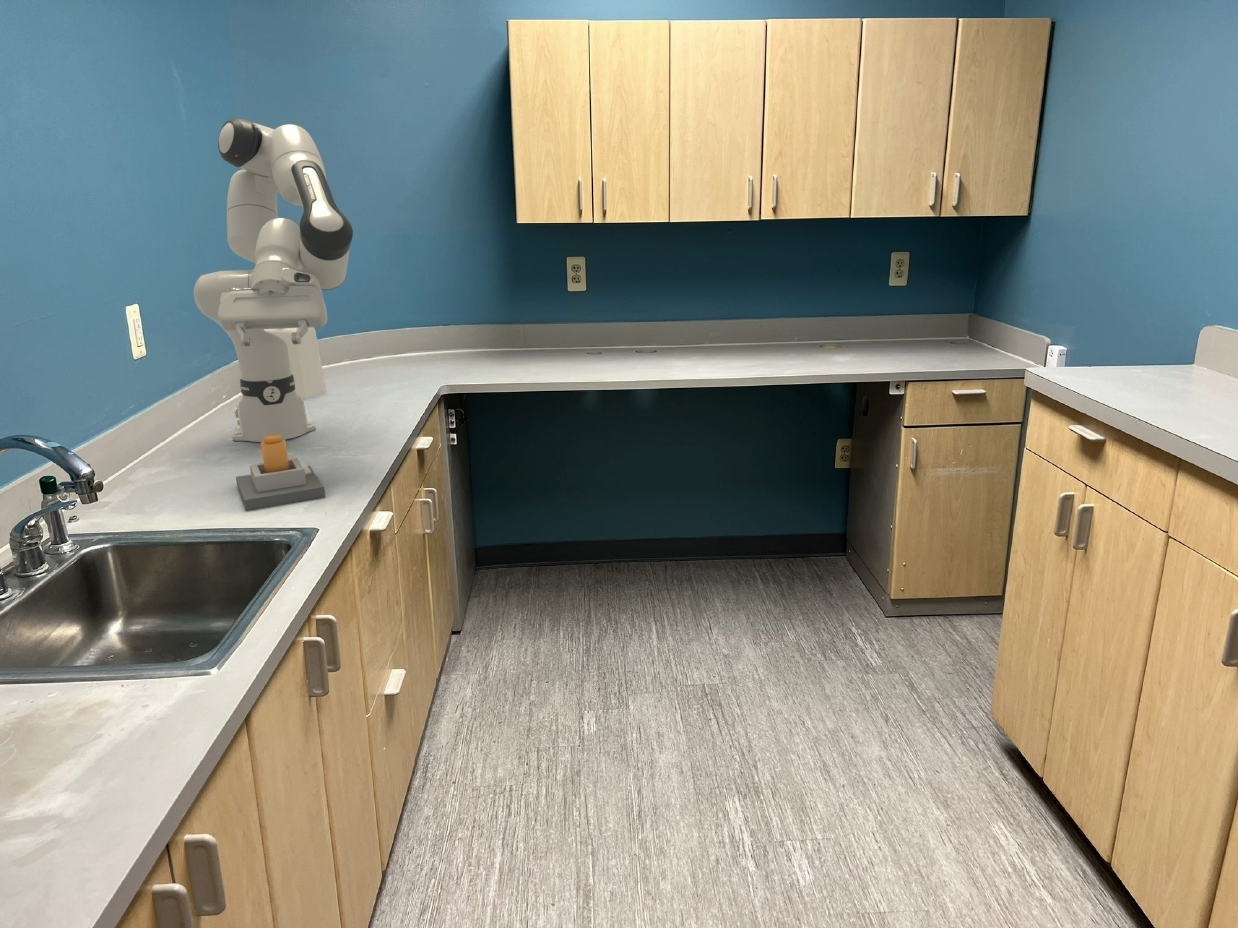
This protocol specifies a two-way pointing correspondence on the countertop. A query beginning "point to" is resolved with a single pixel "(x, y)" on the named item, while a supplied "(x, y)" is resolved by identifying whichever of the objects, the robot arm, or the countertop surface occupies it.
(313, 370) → the milk
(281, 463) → the orange bottle
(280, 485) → the plate
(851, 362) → the countertop surface
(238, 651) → the countertop surface
